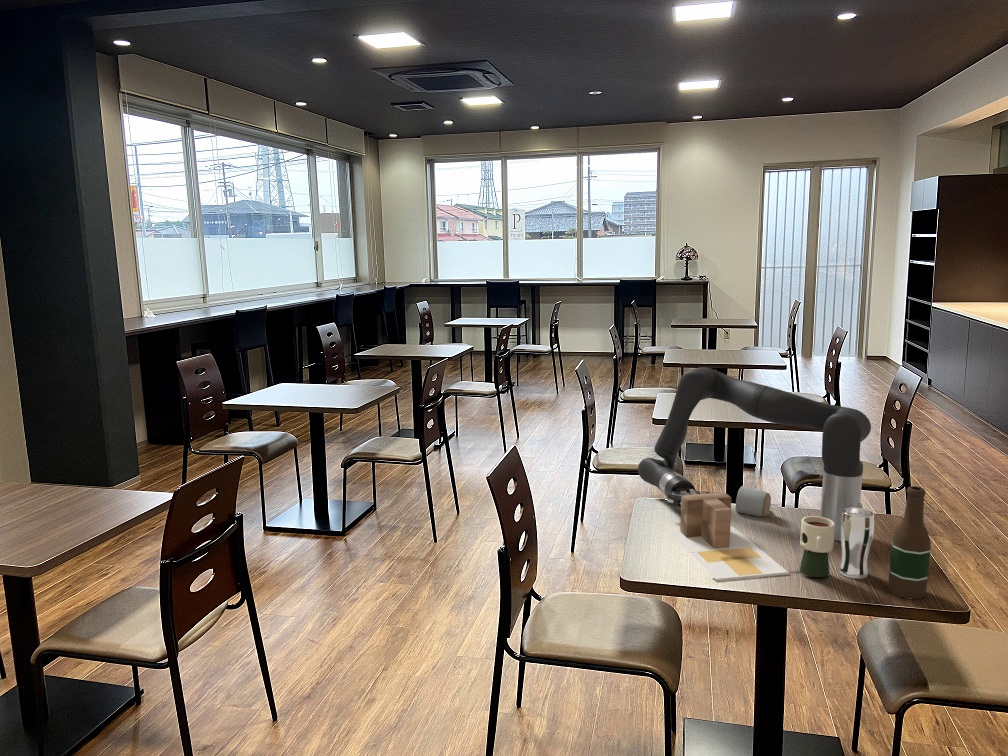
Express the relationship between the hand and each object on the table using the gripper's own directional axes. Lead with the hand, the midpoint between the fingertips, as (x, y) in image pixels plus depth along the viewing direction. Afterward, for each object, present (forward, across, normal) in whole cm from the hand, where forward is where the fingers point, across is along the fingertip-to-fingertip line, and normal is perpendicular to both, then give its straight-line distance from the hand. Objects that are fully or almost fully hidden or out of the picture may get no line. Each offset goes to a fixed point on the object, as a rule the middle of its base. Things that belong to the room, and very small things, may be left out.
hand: (702, 509), depth 202 cm
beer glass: (+30, +24, +6) cm, 39 cm away
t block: (+6, 0, +6) cm, 8 cm away
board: (+13, 0, +6) cm, 15 cm away
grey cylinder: (-10, +20, +6) cm, 23 cm away
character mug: (+29, +15, +6) cm, 33 cm away
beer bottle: (+41, +30, +6) cm, 51 cm away
